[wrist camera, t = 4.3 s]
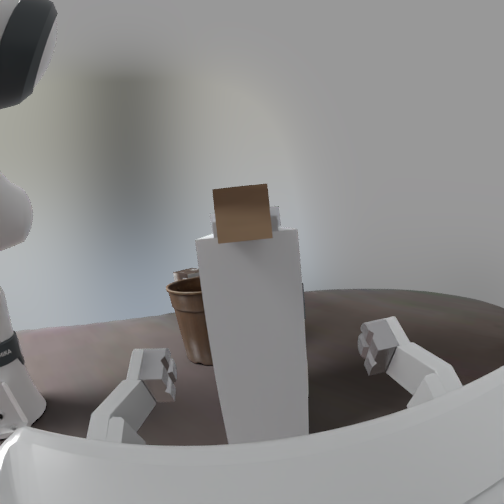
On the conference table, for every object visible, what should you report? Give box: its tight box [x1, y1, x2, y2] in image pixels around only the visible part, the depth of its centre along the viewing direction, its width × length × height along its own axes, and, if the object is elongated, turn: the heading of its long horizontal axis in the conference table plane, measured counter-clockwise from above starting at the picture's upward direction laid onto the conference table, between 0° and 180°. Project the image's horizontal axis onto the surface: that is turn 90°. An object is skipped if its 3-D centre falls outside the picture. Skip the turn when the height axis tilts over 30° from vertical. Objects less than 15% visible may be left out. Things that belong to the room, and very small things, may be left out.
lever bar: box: [213, 184, 273, 244], centre depth 31 cm, size 24×4×4 cm, turn 1°
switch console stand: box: [195, 206, 309, 444], centre depth 38 cm, size 16×10×29 cm
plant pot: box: [166, 276, 213, 365], centre depth 62 cm, size 16×16×16 cm
